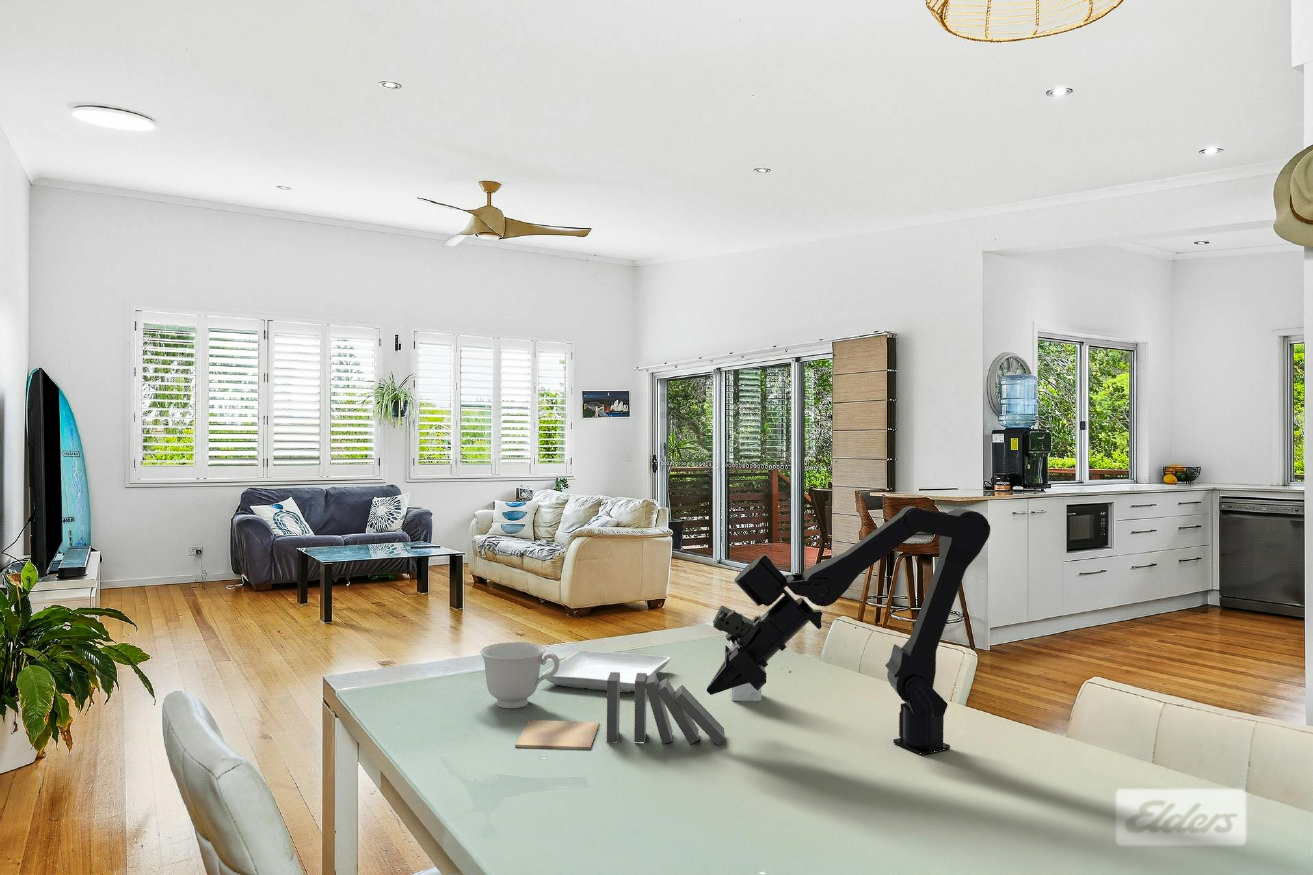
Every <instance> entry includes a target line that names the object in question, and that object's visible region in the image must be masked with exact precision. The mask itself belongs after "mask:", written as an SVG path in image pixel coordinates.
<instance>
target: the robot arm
mask: <svg viewBox="0 0 1313 875" xmlns="http://www.w3.org/2000/svg"><path fill="white" fill-rule="evenodd" d="M918 533H923V534H924V533H925V534H929V535H935V536H939V538H938V539H939V542H938V543H939V544H938V545H939V546H938V547H939V549H938V554H939V555H938V560H937V563H936V565H935V568H934V571H933V574H932V577H931V579H930V582H929V584H928V588H927V591H926V593H925V596H924V598H923V602H922V604H921V606H920V607H921V608H919V613H918V614H917V618H916V620H915V623H914V626H913V629H912V632H911V634H910V637H909V638H908V640H907V641H906V642H905V644H904V645H903V646H902V647H901V646H900V645H897V644H895V643H894V644H893V646H892V650H891V655H890V657H889V660H888V661H887V663H886V664H885V668H886V669H887V673H886V674H887V680H888V682H889V684H890V687H892V689H893V690H894V691H895V692H896V694H897V695H898V696H899V697H900V699H901V700H902V701H903V702H904V703H900V711H899V713H898V716H899V717H898V718H899V719H898V736H899V737H898V738H894V739H893V741H892V742H893V744H895V745H898V746H900V747H902V748H904V749H907V750H909V749H910V750H909V751H912V752H914V751H915V752H914V753H916V752H917V753H916V754H919V753H921V754H925V753H929V754H932V753H931V752H934V751H938V752H941V751H940V750H942V751H944V750H943V749H947V750H949V749H948V748H950V749H951V745H950V744H948V743H945V742H944V719H945V717H944V716H945V713H946V712H947V708H948V707H949V706H948V703H947V701H946V700H944V698H943V697H942V696H941V695H940V694H939V693H938V691H936V690H935V689H934V685H935V679H936V674H937V649H938V647H939V643H940V642H941V639H942V636H943V633H944V631H945V629H946V628H945V627H946V626H947V622H948V619H949V617H950V614H951V612H952V608H953V606H954V603H955V601H956V598H957V595H958V592H959V590H960V587H961V585H962V581H963V578H964V576H965V574H966V571H967V569H968V568H969V566H970V565H971V564H972V563H973V561H974V560H975V559H976V558H977V557H978V556H979V554H980V553H981V551H982V550H983V547H984V546H985V544H986V543H987V541H988V539H989V538H990V534H991V525H990V523H989V521H988V519H987V518H986V517H985V516H984V515H983V514H982V513H981V512H978V511H974V510H971V509H966V508H961V507H960V508H959V507H958V508H954V509H952V510H950V511H948V512H946V511H938V510H932V509H924V508H920V507H917V506H914V505H913V506H912V505H909V506H908V505H907V506H905V507H903V508H902V509H901V510H900V511H899V512H898V513H897V514H895V515H894V516H893V517H892V518H890V519H889V520H887V521H885V523H883V524H881V525H880V526H879V527H877V528H876V529H874V530H873V531H872V532H871V533H869V534H868V535H866V536H865V537H863V539H861V540H860V541H858V542H856V544H854V545H853V546H851V547H850V548H848V549H847V550H846V551H844V552H842V553H840V554H838V555H836V556H833V557H830V558H828V559H824V560H823V561H821V562H818V563H816V564H814V565H813V566H810V567H809V568H807V569H805V571H804V572H803V573H794V574H791V573H790V574H784V573H782V572H781V570H780V569H779V568H777V566H776V565H775V564H774V563H773V561H772V560H771V559H770V557H769V556H768V555H767V554H766V553H763V554H762V555H760V556H759V557H758V558H756V559H754V560H753V562H751V563H749V564H747V565H746V566H745V567H744V568H743V569H742V570H741V571H740V572H739V573H738V574H737V575H736V577H735V578H734V580H733V582H734V583H735V584H736V585H737V586H738V587H739V589H741V590H742V592H744V593H745V595H747V597H749V598H750V599H751V601H752V602H753V603H754V604H755V605H756V606H757V607H760V606H762V605H763V606H764V607H767V608H768V607H770V606H771V605H772V606H771V607H770V608H769V609H768V610H767V611H766V612H765V613H764V614H762V616H761V615H755V616H754V617H753V618H748V617H746V616H744V615H743V614H742V613H739V612H737V611H736V610H735V609H734V610H733V609H731V608H729V607H727V606H725V605H720V607H719V609H718V610H717V613H716V615H715V617H714V619H713V621H712V623H713V625H712V626H713V627H714V628H715V629H716V630H718V631H719V632H725V633H726V634H725V637H726V638H725V639H726V640H727V642H730V640H731V642H732V643H733V644H734V645H733V646H732V647H731V648H730V647H728V646H727V645H725V646H724V660H723V661H722V664H721V666H720V667H719V669H718V670H717V671H716V674H715V675H714V677H713V678H712V679H711V681H710V682H709V684H708V686H707V687H706V692H707V693H708V694H709V695H710V696H712V695H715V694H718V693H721V692H724V691H727V690H730V688H733V687H737V686H740V685H743V684H747V683H750V684H751V685H752V686H753V687H754V688H755V689H756V690H757V691H758V690H759V689H760V688H761V689H762V688H763V686H764V685H766V683H767V670H766V668H767V667H768V665H769V663H768V661H770V659H771V658H773V656H774V655H775V654H777V652H779V651H781V652H783V651H785V649H786V648H787V645H786V644H787V643H788V642H789V641H790V640H792V638H793V637H794V636H795V635H797V633H799V632H800V631H801V630H802V629H803V628H804V627H805V626H806V625H807V624H808V623H809V622H810V623H812V625H813V626H814V627H815V628H816V629H818V630H820V629H822V617H823V611H822V610H821V609H814V608H812V606H810V604H808V602H807V601H806V600H805V599H804V598H807V599H808V601H809V602H811V603H812V604H813V605H816V606H818V607H823V608H824V607H828V606H831V605H833V604H835V602H836V601H838V600H839V599H840V598H841V596H842V595H844V594H845V593H846V591H847V590H848V589H849V588H850V587H851V586H852V584H853V583H854V581H855V580H857V579H856V578H858V577H859V576H860V574H861V573H863V572H865V571H866V570H867V569H869V568H870V567H871V566H872V565H874V564H876V563H877V562H878V561H880V560H881V559H882V558H884V557H885V556H887V555H888V554H889V553H891V552H892V551H893V550H895V549H896V548H898V547H899V546H901V545H902V544H904V543H906V541H907V540H908V539H910V538H912V537H913V536H915V535H916V534H918ZM786 588H788V589H789V590H790V591H791V592H792V593H793V594H794V595H795V596H799V598H797V599H795V598H794V597H793V596H792V595H791V594H790V592H788V591H787V590H786ZM783 594H784V595H783ZM782 595H783V596H782ZM781 596H782V597H781ZM774 603H775V604H774ZM750 619H752V620H750ZM934 753H935V752H934ZM921 754H920V755H921ZM925 755H926V754H925Z"/></svg>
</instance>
